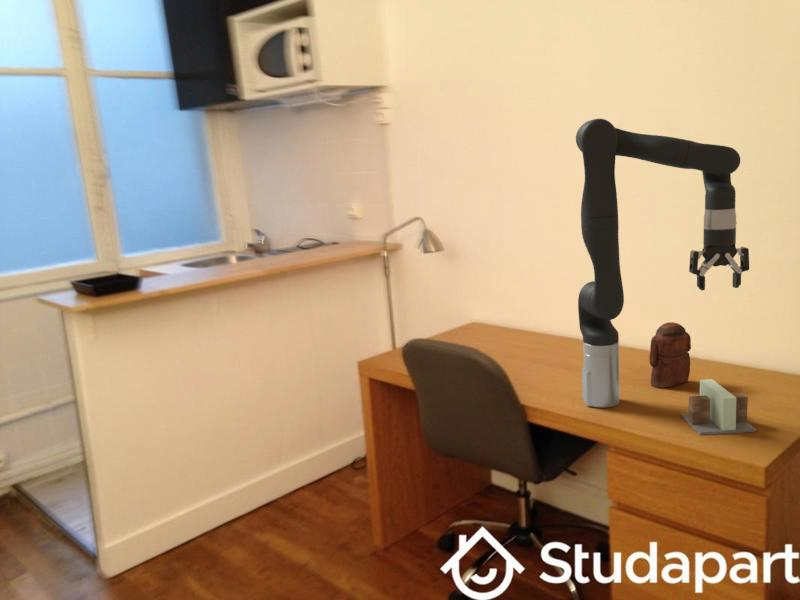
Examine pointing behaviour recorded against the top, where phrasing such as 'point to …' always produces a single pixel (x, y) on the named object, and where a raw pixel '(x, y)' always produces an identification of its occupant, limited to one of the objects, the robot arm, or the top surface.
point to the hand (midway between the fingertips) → (718, 288)
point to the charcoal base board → (714, 429)
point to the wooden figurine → (670, 355)
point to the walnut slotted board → (701, 409)
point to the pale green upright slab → (720, 404)
